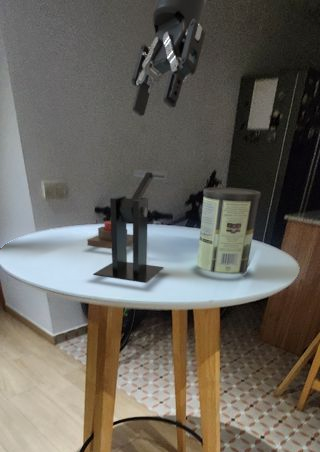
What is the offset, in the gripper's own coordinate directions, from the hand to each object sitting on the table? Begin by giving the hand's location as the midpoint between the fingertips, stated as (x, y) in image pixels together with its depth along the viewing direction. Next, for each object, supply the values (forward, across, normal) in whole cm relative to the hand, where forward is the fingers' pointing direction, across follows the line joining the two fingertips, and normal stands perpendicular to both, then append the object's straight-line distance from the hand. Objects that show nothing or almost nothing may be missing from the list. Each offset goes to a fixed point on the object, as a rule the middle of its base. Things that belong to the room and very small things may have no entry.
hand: (152, 109), depth 62 cm
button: (+17, -17, +9) cm, 26 cm away
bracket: (+27, +3, +3) cm, 27 cm away
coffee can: (+20, +9, +20) cm, 29 cm away
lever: (+14, +2, +1) cm, 14 cm away
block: (+20, -17, +10) cm, 29 cm away
